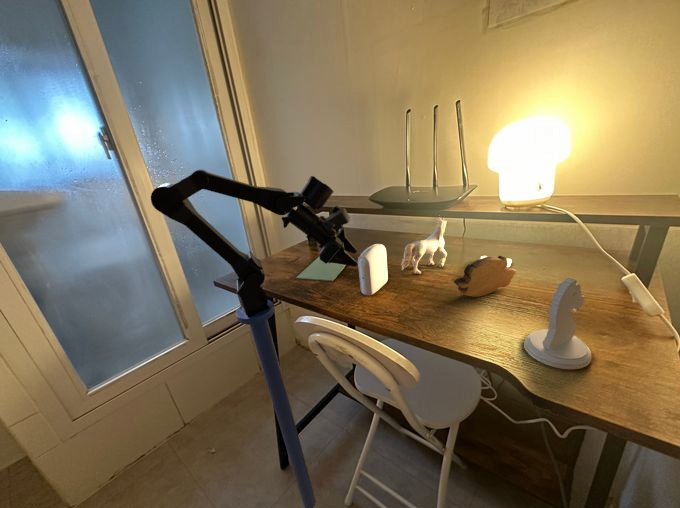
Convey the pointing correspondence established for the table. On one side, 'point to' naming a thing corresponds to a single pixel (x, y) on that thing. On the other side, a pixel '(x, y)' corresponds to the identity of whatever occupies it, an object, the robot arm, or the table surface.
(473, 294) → the wooden carving
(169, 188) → the robot arm
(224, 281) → the table surface
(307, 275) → the felt mat
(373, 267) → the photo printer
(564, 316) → the chess piece
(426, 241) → the unicorn figurine
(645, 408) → the table surface
